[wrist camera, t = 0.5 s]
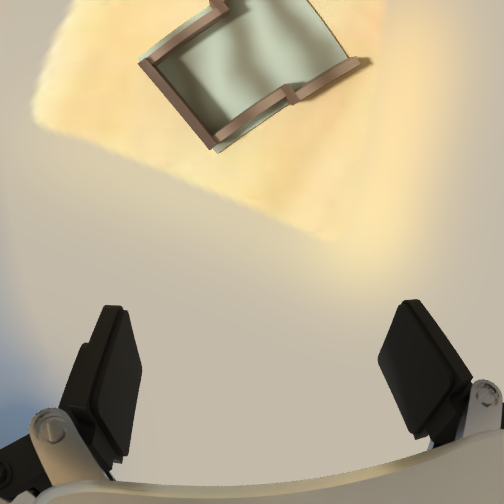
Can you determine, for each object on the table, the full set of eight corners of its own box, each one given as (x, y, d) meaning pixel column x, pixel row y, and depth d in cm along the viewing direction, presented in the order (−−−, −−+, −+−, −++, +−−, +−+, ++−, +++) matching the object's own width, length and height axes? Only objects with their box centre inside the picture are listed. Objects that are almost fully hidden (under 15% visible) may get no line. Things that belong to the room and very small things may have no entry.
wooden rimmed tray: (278, -31, 25) (283, -42, 22) (351, 65, 32) (362, 63, 29) (138, 58, 30) (130, 55, 27) (217, 153, 36) (216, 159, 33)
